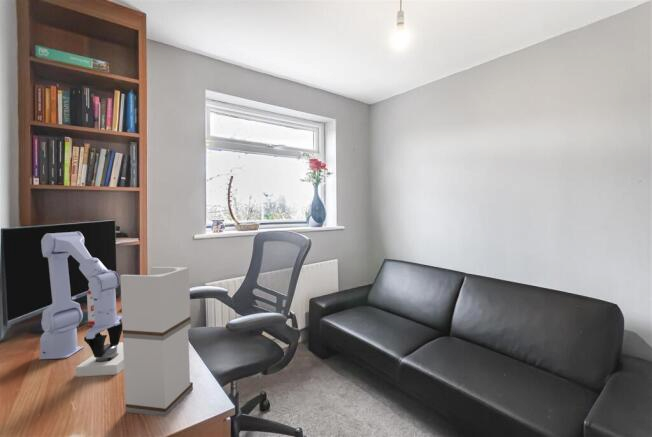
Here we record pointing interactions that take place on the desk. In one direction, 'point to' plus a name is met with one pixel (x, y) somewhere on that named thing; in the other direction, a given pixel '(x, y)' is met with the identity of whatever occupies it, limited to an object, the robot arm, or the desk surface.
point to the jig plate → (102, 365)
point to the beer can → (90, 308)
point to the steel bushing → (108, 353)
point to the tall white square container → (156, 339)
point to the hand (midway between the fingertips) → (107, 350)
